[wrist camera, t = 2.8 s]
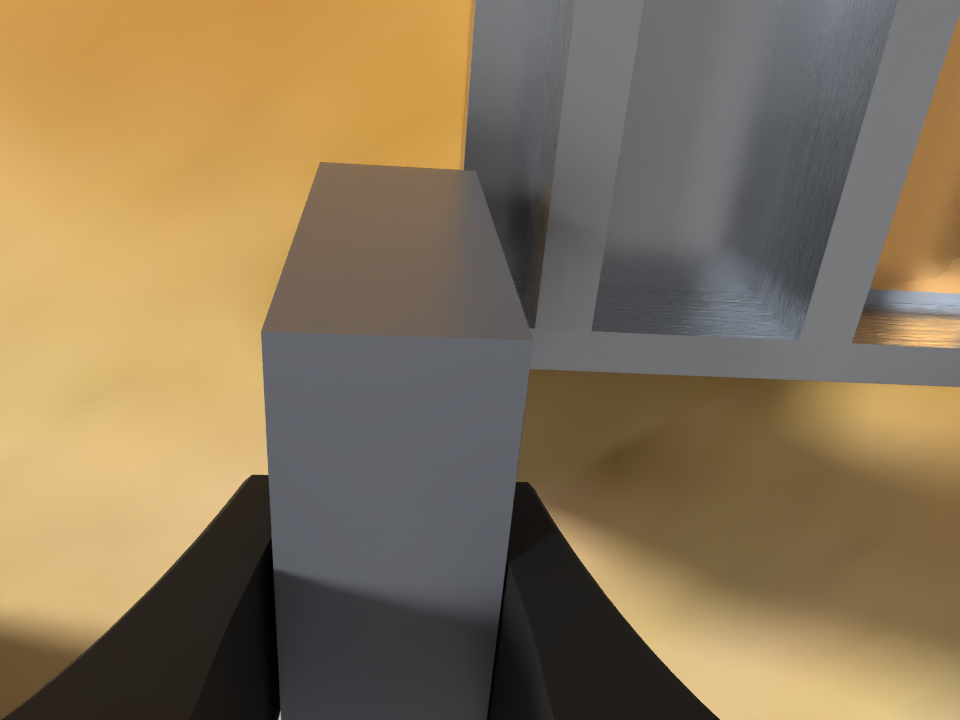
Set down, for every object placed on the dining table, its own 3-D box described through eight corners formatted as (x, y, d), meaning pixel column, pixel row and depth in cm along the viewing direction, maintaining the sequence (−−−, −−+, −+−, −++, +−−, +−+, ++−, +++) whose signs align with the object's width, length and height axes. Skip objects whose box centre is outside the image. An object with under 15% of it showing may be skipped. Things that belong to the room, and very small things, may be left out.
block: (448, 523, 16) (474, 819, 10) (324, 523, 15) (287, 828, 10) (476, 171, 12) (533, 340, 7) (320, 162, 12) (261, 332, 7)
